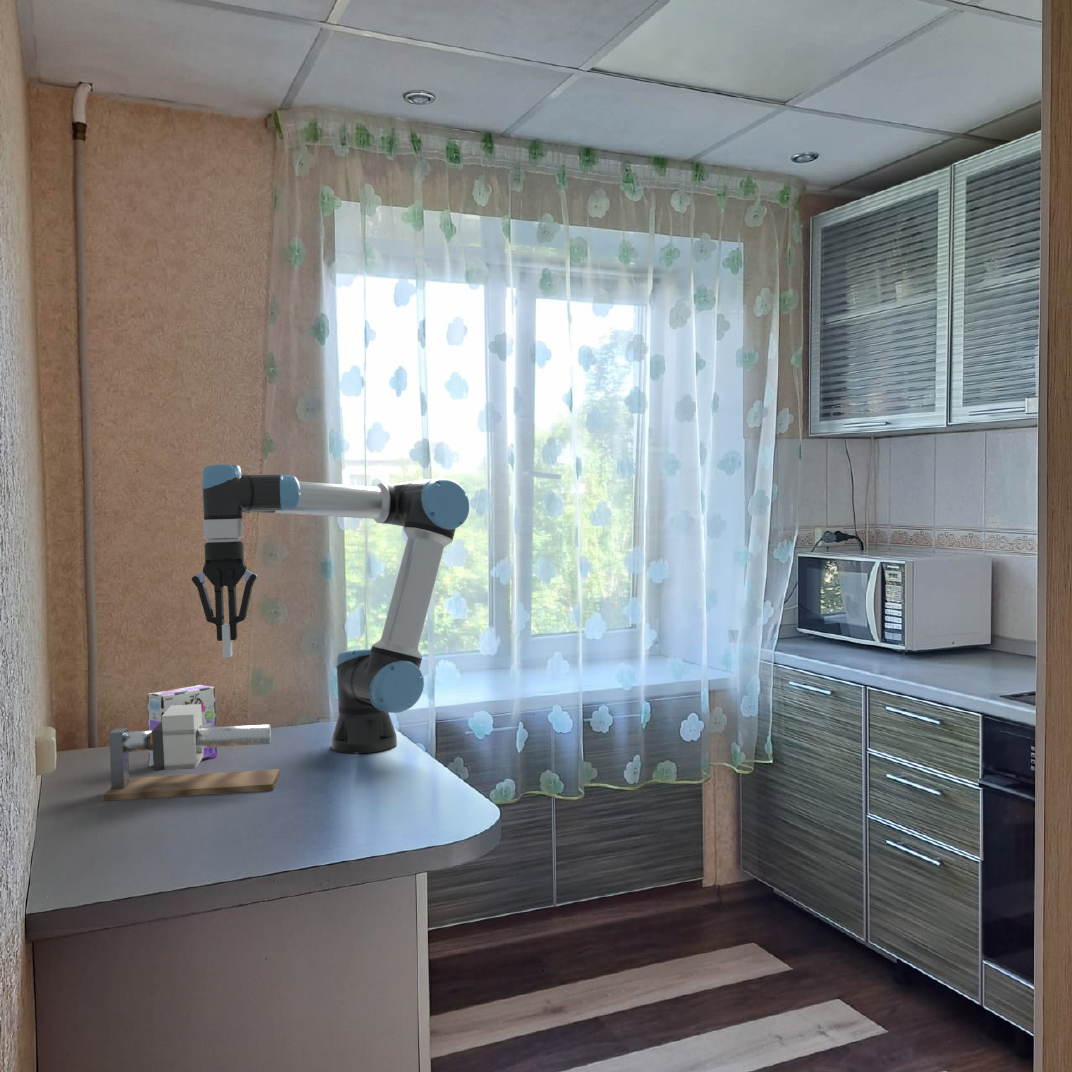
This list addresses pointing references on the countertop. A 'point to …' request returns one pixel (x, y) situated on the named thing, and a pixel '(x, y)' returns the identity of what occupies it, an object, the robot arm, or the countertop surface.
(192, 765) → the sleeve
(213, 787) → the board
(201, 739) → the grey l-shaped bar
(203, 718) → the candy box
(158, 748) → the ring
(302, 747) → the countertop surface
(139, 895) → the countertop surface
